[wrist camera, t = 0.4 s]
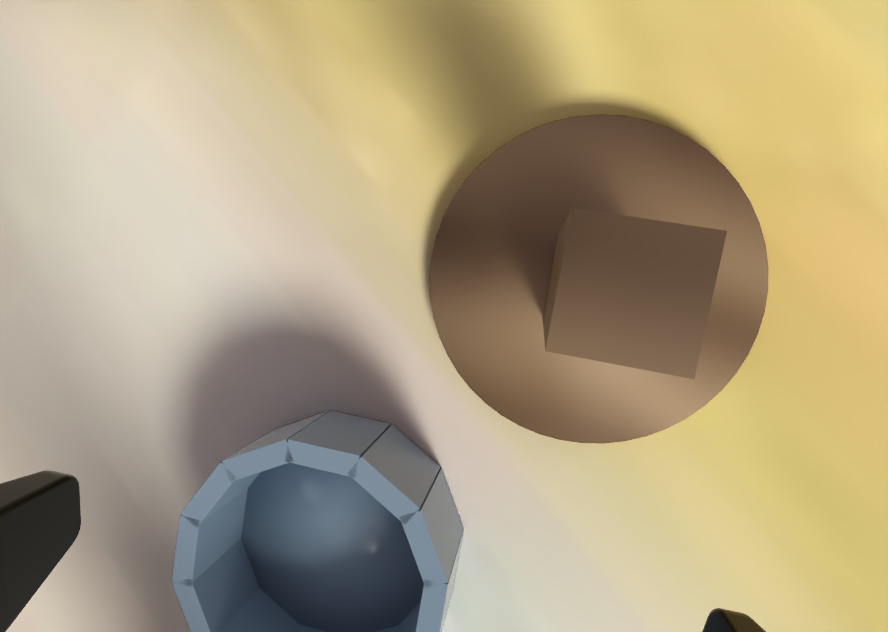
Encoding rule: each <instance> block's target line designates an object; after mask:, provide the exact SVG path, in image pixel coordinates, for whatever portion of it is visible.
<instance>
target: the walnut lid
mask: <svg viewBox="0 0 888 632" xmlns="http://www.w3.org/2000/svg"><path fill="white" fill-rule="evenodd" d="M767 293H768V261H767V253H766V245H765V241H764V237H763V234H762V230H761V227H760V223H759V221H758V218H757V216H756V214H755V212H754V209H753V207H752V205H751V202H750V201H749V199H748V197H747V196H746V194H745V193H744V191H743V189H742V188H741V186H740V185H739V183H738V182H737V180H736V179H735V178H734V177H733V176H732V175H731V173H730V172H729V171H728V170H727V169H726V167H725V166H724V165H723V164H722V163H721V162H720V161H718V160H717V159H716V158H715V157H714V156H713V155H712V154H711V153H710V152H708V151H707V150H706V149H705V148H703V147H702V146H700V145H699V144H697V143H696V142H694V141H693V140H691V139H690V138H688V137H686V136H684V135H682V134H680V133H678V132H676V131H674V130H672V129H670V128H668V127H665V126H662V125H659V124H656V123H653V122H650V121H647V120H643V119H638V118H633V117H627V116H619V115H601V114H600V115H587V116H576V117H572V118H567V119H562V120H557V121H554V122H551V123H548V124H545V125H542V126H539V127H536V128H534V129H532V130H530V131H528V132H526V133H524V134H522V135H520V136H518V137H516V138H514V139H512V140H511V141H509V142H508V143H506V144H505V145H503V146H502V147H500V148H499V149H497V150H496V151H495V152H494V153H492V154H491V155H490V156H489V157H488V158H487V159H485V160H484V161H483V162H482V163H481V164H480V165H479V166H478V167H477V168H476V169H475V170H474V171H473V173H472V174H471V175H470V176H469V177H468V178H467V179H466V180H465V182H464V183H463V185H462V186H461V188H460V189H459V190H458V192H457V193H456V195H455V196H454V198H453V200H452V201H451V203H450V205H449V207H448V209H447V211H446V213H445V215H444V217H443V220H442V222H441V225H440V228H439V231H438V233H437V236H436V240H435V245H434V249H433V253H432V260H431V270H430V297H431V303H432V310H433V316H434V320H435V323H436V327H437V330H438V333H439V337H440V339H441V341H442V344H443V346H444V348H445V350H446V353H447V355H448V357H449V358H450V360H451V362H452V363H453V365H454V367H455V368H456V370H457V372H458V373H459V374H460V376H461V377H462V378H463V379H464V381H465V382H466V383H467V384H468V386H469V387H470V388H471V389H472V390H473V391H474V392H475V393H476V394H477V395H478V396H479V397H480V398H481V399H482V400H483V401H484V402H485V403H486V404H488V405H489V406H490V407H492V408H493V409H494V410H495V411H497V412H498V413H499V414H501V415H502V416H504V417H506V418H507V419H509V420H511V421H513V422H514V423H516V424H518V425H520V426H522V427H524V428H526V429H529V430H531V431H534V432H536V433H538V434H541V435H545V436H549V437H552V438H556V439H559V440H566V441H572V442H579V443H611V442H621V441H627V440H632V439H636V438H640V437H645V436H648V435H651V434H653V433H656V432H659V431H661V430H664V429H667V428H669V427H671V426H673V425H675V424H676V423H678V422H680V421H682V420H684V419H686V418H688V417H689V416H691V415H692V414H693V413H695V412H696V411H698V410H699V409H701V408H702V407H704V406H705V405H706V404H707V403H708V402H709V401H710V400H712V399H713V398H714V397H715V396H716V395H717V394H718V393H719V392H720V391H722V389H723V388H724V387H725V386H726V385H727V383H728V382H729V381H730V380H731V379H732V378H733V376H734V375H735V374H736V373H737V371H738V370H739V368H740V366H741V365H742V363H743V362H744V360H745V359H746V357H747V356H748V354H749V352H750V350H751V347H752V345H753V343H754V341H755V339H756V337H757V334H758V332H759V328H760V325H761V322H762V318H763V315H764V312H765V305H766V299H767Z"/></svg>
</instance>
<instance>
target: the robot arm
mask: <svg viewBox="0 0 888 632" xmlns="http://www.w3.org/2000/svg"><path fill="white" fill-rule="evenodd" d="M80 525H81V515H80V494H79V482H78V481H77V479H76V477H74V476H72V475H69V474H64V473H59V472H55V471H42V472H38V473H35V474H32V475H28V476H25V477H22V478H18V479H15V480H11V481H8V482H5V483H1V484H0V632H5V631H6V630H7V629H8V628H9V627H10V625H11V624H12V623H13V621H14V620H15V619H16V617H17V616H18V615H19V613H20V612H21V611H22V609H23V608H24V607H25V606H26V604H27V603H28V602H29V600H30V599H31V598H32V596H33V595H34V594H35V592H36V591H37V590H38V588H39V587H40V586H41V584H42V583H43V582H44V581H45V579H46V578H47V577H48V575H49V574H50V573H51V571H52V570H53V569H54V567H55V566H56V565H57V563H58V562H59V561H60V559H61V558H62V557H63V556H64V554H65V553H66V552H67V550H68V549H69V548H70V546H71V545H72V544H73V542H74V541H75V539H76V537H77V535H78V533H79V530H80ZM703 632H766V631H765V630H763V629H762V628H761V627H760V626H759V625H758V624H757V623H756V622H755V621H754V620H753V619H751V618H750V617H749V616H748V615H746V614H743V613H740V612H735V611H730V610H725V609H720V608H717V609H714V610H712V611H711V612H710V614H709V616H708V618H707V621H706V624H705V626H704V629H703Z"/></svg>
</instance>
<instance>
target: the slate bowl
mask: <svg viewBox="0 0 888 632" xmlns="http://www.w3.org/2000/svg"><path fill="white" fill-rule="evenodd" d="M390 424H391V423H386V422H381V421H377V420H372V419H368V418H363V417H358V416H354V415H349V414H345V413H340V412H335V411H326V412H323V413H321V414H318V415H315V416H312V417H309V418H306V419H303V420H300V421H297V422H294V423H291V424H288V425H285V426H283V427H280V428H277V429H274V430H273V431H271V432H269V433H268V434H266V435H264V436H263V437H261V438H259V439H258V440H256V441H254V442H253V443H251V444H249V445H248V446H246V447H244V448H243V449H241V450H239V451H238V452H236V453H234V454H233V455H231V456H229V457H228V458H226V459H224V460H223V461H221V462H220V463H219V465H218V466H217V467H216V468H215V470H214V471H213V472H212V474H211V475H210V476H209V477H208V479H207V480H206V481H205V482H204V484H203V485H202V486H201V488H200V489H199V490H198V491H197V493H196V494H195V495H194V497H193V498H192V499H191V500H190V502H189V503H188V504H187V505H186V507H185V508H184V509H183V511H182V512H181V515H180V517H179V525H178V533H177V542H176V550H175V559H174V567H173V575H172V582H173V583H172V585H173V588H174V590H175V593H176V595H177V598H178V601H179V603H180V606H181V609H182V611H183V614H184V617H185V619H186V622H187V624H188V627H189V630H190V632H442V629H443V625H444V622H445V618H446V614H447V610H448V607H449V603H450V599H451V595H452V592H453V587H454V582H455V576H456V571H457V565H458V559H459V554H460V548H461V543H462V537H463V531H464V530H463V525H462V522H461V520H460V517H459V514H458V511H457V509H456V506H455V503H454V501H453V498H452V495H451V492H450V490H449V487H448V484H447V482H446V479H445V476H444V473H443V471H442V468H441V469H440V466H439V465H438V464H437V463H436V462H435V461H433V460H432V459H431V458H430V457H429V456H428V455H427V454H425V453H424V452H423V451H422V450H421V449H420V448H419V447H417V446H416V445H415V444H414V443H413V442H412V441H411V440H410V439H408V438H407V437H406V436H405V435H404V434H403V433H402V432H400V431H399V430H398V429H397V428H396V427H395V426H394V425H391V426H390Z"/></svg>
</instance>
